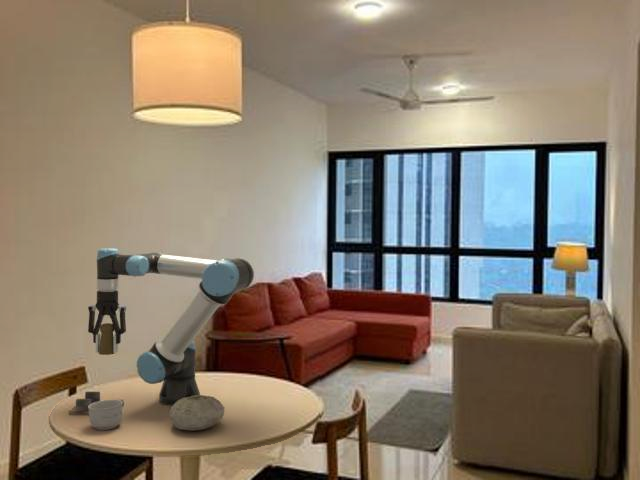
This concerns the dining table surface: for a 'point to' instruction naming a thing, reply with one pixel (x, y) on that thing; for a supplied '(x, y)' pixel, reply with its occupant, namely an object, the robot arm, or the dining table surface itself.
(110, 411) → the teacup
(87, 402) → the stand
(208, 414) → the grey stone
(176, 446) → the dining table surface
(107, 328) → the cork
